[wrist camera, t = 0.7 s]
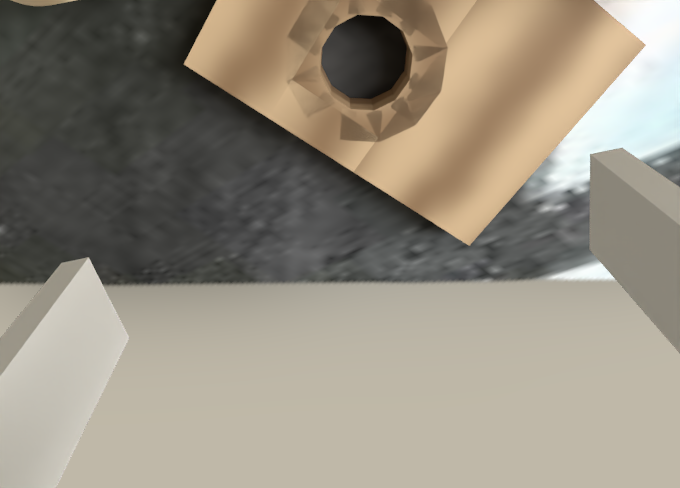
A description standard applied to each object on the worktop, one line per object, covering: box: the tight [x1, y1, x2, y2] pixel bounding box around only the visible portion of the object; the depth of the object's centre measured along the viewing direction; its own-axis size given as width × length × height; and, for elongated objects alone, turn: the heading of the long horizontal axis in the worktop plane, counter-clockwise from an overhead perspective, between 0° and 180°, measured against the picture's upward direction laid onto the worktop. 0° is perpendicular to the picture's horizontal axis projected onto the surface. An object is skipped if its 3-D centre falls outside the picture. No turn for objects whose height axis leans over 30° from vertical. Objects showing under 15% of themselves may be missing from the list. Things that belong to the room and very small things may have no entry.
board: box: [184, 0, 645, 245], centre depth 34 cm, size 22×16×3 cm
